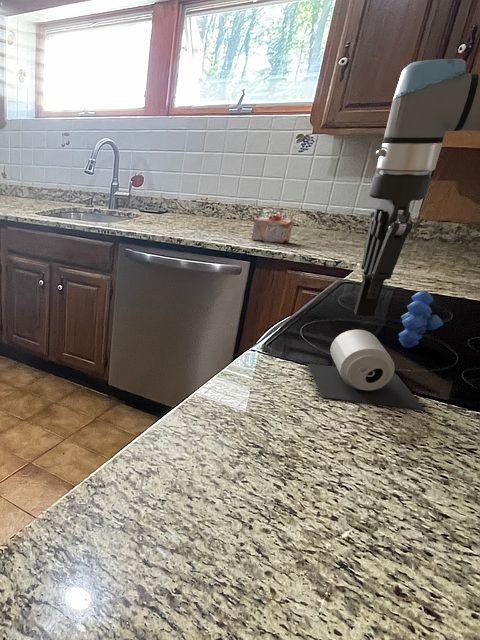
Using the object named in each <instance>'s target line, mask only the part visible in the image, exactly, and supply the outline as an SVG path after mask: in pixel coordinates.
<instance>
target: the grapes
mask: <svg viewBox="0 0 480 640" xmlns="http://www.w3.org/2000/svg"><path fill="white" fill-rule="evenodd" d="M411 300H412V302H411V303H409V304H407V305H406V308H407V310H408V311H407V312H406V313H404V314H402V315H401V316H400V318H401V320H402V321H401V323H402V325H403V327H404V330H402V331H401V332H399V333H398V336H399V338H398V341H399V343H400V344H401V346H402V347H403V348H406V349H410V348H413V347H415V346H417V345H418V344H420V342H419V340H421V339H422V338H423V336H422V334H425V333H426V331H427V330H428V331H435V330H437V329H439V328H440V327H442V326H444V323H443V320H442V319H441V318H440V317H439V316H438V315H437V314H432V313H433V311H432V308H431V307H430V305H431V304H433V302H435V300H434V298H433V296H432V294H431V293H430V292H428V291H427V290H421V291H418V292H416V293H415V294H413V295H412V296H411Z"/></svg>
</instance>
